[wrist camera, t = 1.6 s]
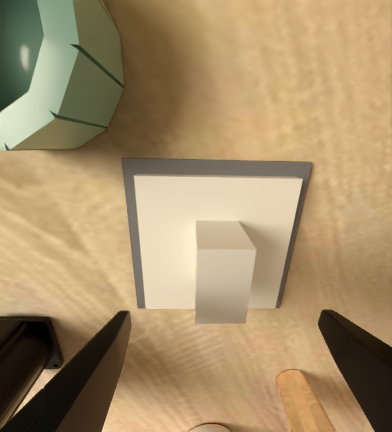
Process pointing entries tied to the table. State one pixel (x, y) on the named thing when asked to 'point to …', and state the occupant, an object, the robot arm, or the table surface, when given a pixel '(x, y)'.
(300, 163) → the mat
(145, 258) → the lid
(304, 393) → the milkshake
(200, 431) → the supplement bottle
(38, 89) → the bowl
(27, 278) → the table surface
